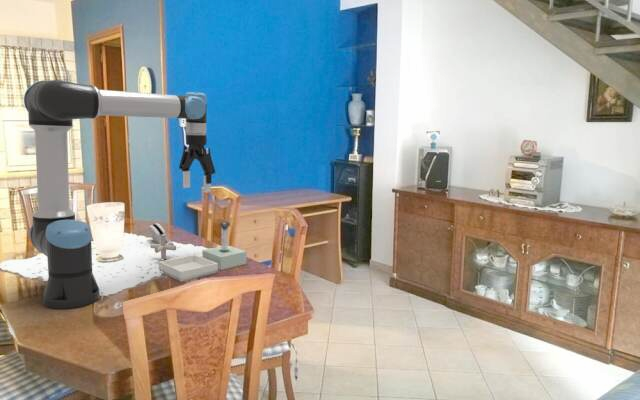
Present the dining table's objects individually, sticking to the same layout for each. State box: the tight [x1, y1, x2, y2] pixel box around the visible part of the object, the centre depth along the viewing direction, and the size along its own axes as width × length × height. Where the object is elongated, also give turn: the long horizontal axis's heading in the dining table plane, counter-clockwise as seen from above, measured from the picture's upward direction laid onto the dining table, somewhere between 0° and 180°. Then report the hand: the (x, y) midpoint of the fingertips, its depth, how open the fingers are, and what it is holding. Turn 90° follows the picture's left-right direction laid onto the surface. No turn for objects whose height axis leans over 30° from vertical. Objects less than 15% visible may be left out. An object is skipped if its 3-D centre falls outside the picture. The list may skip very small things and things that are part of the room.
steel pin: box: [218, 221, 231, 253], centre depth 182 cm, size 4×4×16 cm
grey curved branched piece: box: [148, 222, 175, 246], centre depth 207 cm, size 17×5×10 cm, turn 33°
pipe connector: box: [150, 233, 177, 260], centre depth 184 cm, size 10×10×10 cm
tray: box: [158, 254, 219, 283], centre depth 172 cm, size 15×15×4 cm
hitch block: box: [201, 244, 247, 271], centre depth 183 cm, size 12×12×5 cm
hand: (196, 189), depth 182 cm, fingers open, 13 cm apart
